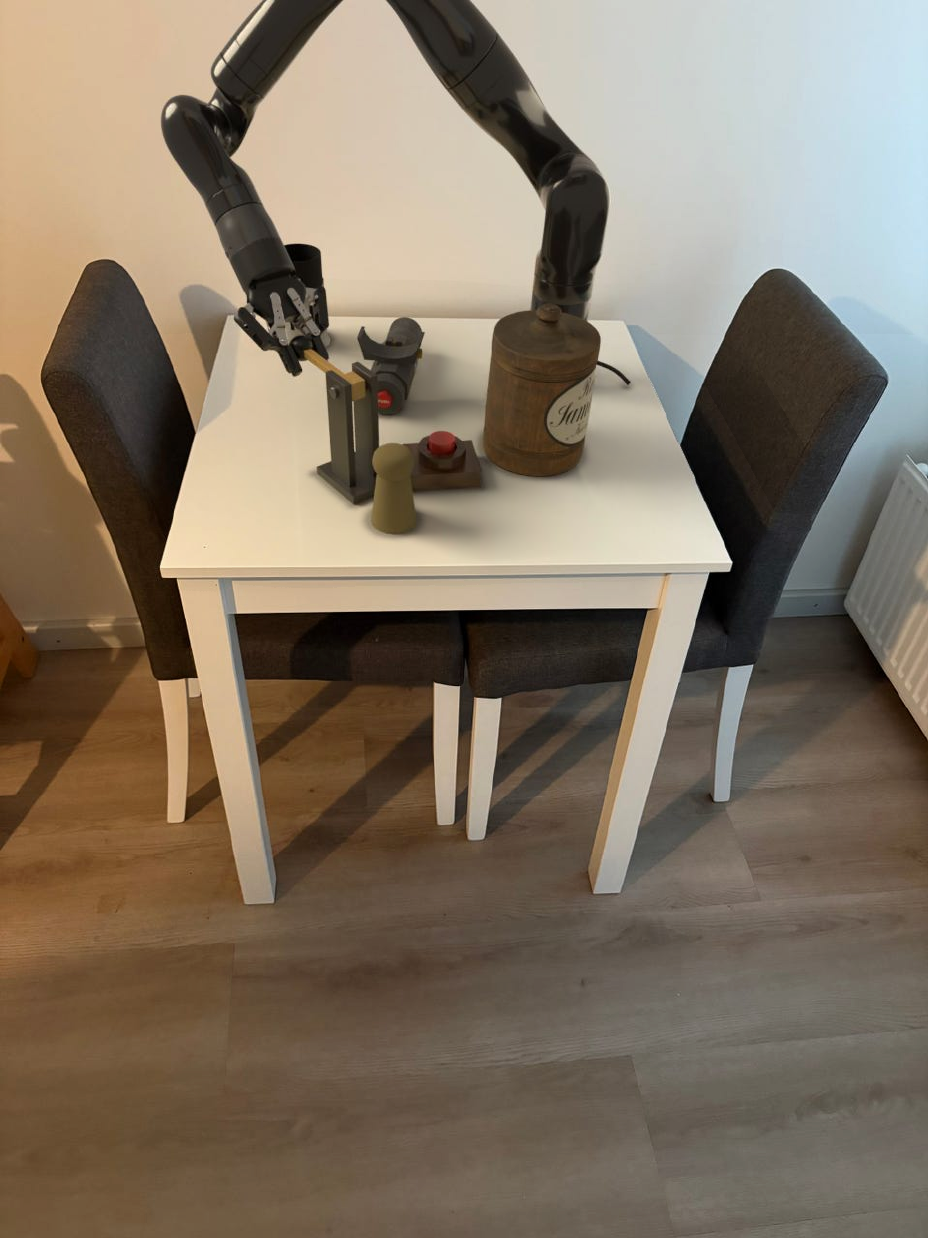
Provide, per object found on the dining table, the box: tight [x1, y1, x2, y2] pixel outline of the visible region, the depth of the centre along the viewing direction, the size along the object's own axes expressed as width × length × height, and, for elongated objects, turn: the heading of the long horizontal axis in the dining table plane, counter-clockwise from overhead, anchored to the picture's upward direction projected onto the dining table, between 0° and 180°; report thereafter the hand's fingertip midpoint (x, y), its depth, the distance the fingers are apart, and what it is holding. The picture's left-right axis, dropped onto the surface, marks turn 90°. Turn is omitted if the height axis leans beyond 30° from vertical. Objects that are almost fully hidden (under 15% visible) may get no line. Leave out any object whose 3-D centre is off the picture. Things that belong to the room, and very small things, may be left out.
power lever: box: [289, 335, 365, 402], centre depth 117 cm, size 15×3×3 cm, turn 40°
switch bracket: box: [316, 361, 380, 505], centre depth 118 cm, size 9×7×16 cm
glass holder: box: [284, 243, 331, 348], centre depth 145 cm, size 9×14×15 cm, turn 8°
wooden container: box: [482, 303, 602, 477], centre depth 124 cm, size 15×15×22 cm
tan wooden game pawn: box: [370, 442, 418, 535], centre depth 114 cm, size 6×6×11 cm
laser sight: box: [356, 316, 426, 416], centre depth 140 cm, size 10×22×10 cm, turn 174°
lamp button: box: [428, 430, 456, 455], centre depth 122 cm, size 4×4×2 cm
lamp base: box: [402, 434, 483, 492], centre depth 124 cm, size 10×8×4 cm
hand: (311, 369), depth 120 cm, fingers closed on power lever, 3 cm apart
